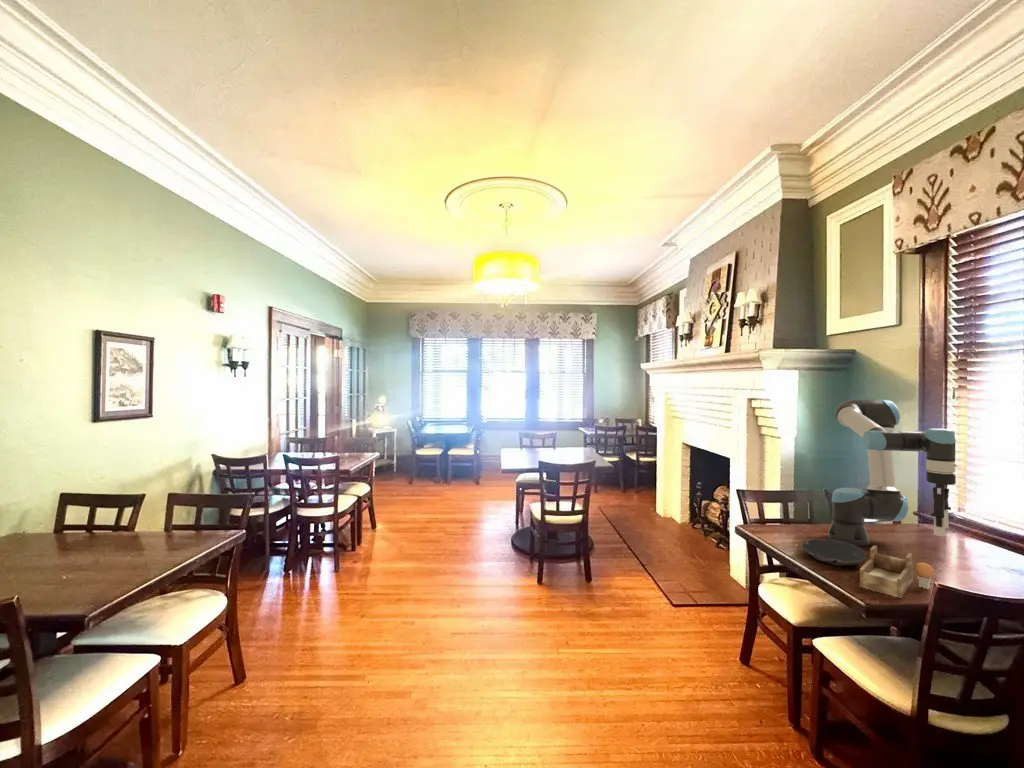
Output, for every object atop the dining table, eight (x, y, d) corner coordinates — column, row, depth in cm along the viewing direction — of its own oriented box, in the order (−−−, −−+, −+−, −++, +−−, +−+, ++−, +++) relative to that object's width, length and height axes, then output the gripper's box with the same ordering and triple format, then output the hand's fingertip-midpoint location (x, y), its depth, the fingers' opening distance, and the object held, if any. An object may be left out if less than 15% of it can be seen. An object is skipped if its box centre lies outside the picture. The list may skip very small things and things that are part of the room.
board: (882, 566, 172) (881, 553, 172) (840, 576, 166) (840, 563, 166) (827, 546, 193) (826, 535, 193) (788, 555, 187) (788, 543, 187)
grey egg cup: (917, 586, 155) (917, 576, 155) (918, 584, 157) (918, 573, 157) (929, 590, 152) (929, 579, 152) (931, 587, 154) (931, 576, 154)
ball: (913, 576, 155) (913, 562, 155) (915, 573, 158) (915, 559, 158) (932, 581, 151) (932, 567, 151) (935, 577, 154) (934, 563, 154)
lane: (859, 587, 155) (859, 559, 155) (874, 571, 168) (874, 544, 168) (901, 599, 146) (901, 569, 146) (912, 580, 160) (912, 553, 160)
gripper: (952, 478, 146) (953, 542, 146) (958, 469, 163) (958, 526, 163) (922, 475, 152) (922, 536, 152) (930, 466, 168) (930, 521, 168)
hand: (941, 531), depth 157 cm, fingers open, 13 cm apart
